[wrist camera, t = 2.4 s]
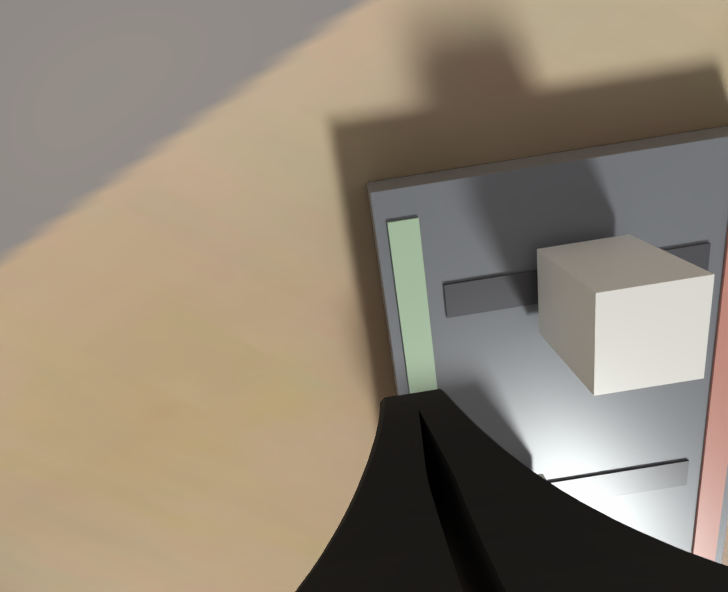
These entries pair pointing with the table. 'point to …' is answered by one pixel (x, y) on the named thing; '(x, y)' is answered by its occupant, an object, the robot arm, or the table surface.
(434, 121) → the table surface
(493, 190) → the panel
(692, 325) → the switch
